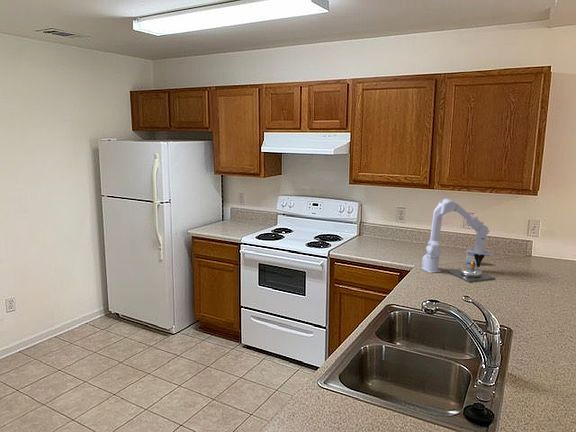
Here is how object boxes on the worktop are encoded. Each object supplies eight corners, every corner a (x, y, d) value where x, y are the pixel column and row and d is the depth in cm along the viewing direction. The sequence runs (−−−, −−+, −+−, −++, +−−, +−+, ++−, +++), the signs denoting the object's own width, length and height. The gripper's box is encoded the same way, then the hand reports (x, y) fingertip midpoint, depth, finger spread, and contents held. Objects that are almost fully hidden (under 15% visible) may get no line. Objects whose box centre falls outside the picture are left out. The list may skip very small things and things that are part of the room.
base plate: (447, 272, 261) (447, 270, 261) (472, 269, 267) (472, 268, 266) (469, 282, 244) (469, 280, 244) (495, 279, 250) (495, 277, 250)
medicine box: (465, 263, 279) (466, 250, 277) (466, 262, 282) (467, 249, 281) (479, 265, 275) (480, 252, 273) (479, 263, 279) (481, 250, 277)
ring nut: (480, 278, 248) (481, 270, 247) (460, 275, 253) (460, 267, 252) (482, 269, 263) (483, 262, 263) (462, 266, 268) (463, 259, 267)
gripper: (494, 244, 260) (492, 266, 262) (468, 241, 267) (466, 263, 269) (493, 247, 254) (491, 270, 256) (466, 244, 261) (464, 266, 263)
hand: (478, 266), depth 262 cm, fingers closed
